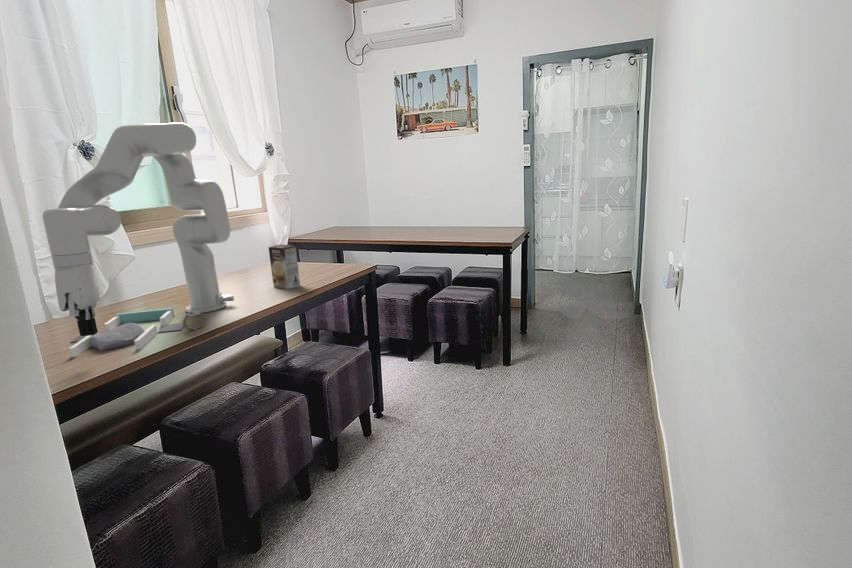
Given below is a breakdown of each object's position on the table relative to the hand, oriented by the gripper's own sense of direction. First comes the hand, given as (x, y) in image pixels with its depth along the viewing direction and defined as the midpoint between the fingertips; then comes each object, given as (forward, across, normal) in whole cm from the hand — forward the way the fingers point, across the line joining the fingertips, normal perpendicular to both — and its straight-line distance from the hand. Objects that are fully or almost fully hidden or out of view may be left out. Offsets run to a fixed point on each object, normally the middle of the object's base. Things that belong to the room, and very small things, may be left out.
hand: (89, 334), depth 114 cm
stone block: (+7, -14, +1) cm, 16 cm away
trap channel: (+7, -20, 0) cm, 21 cm away
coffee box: (+6, -63, +42) cm, 76 cm away
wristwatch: (+7, -19, +19) cm, 27 cm away
